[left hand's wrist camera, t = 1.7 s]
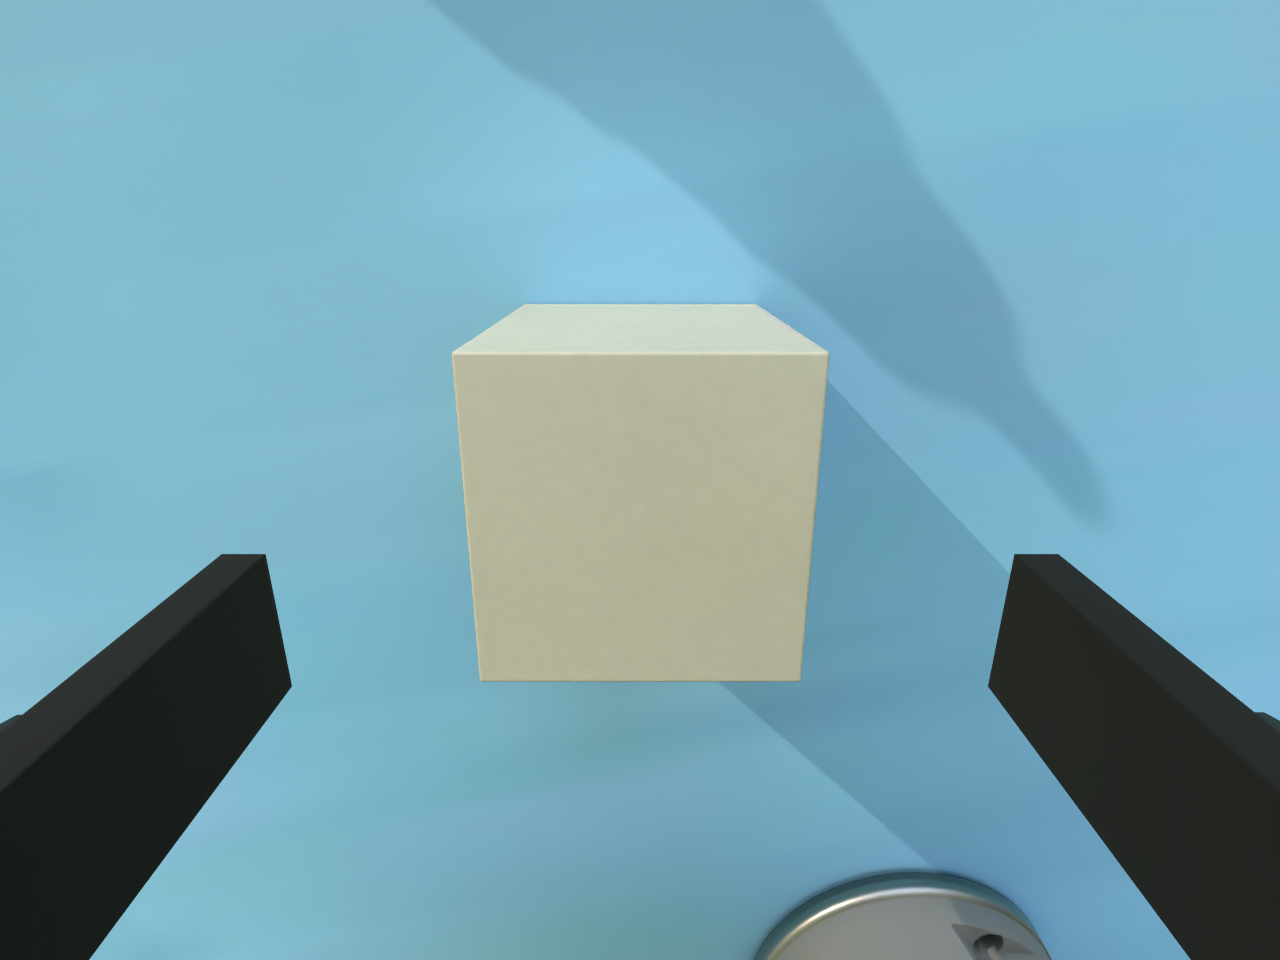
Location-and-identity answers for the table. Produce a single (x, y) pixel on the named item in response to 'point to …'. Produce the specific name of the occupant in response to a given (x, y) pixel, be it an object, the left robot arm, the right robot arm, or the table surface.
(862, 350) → the table surface
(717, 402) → the brick
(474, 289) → the table surface
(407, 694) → the table surface
